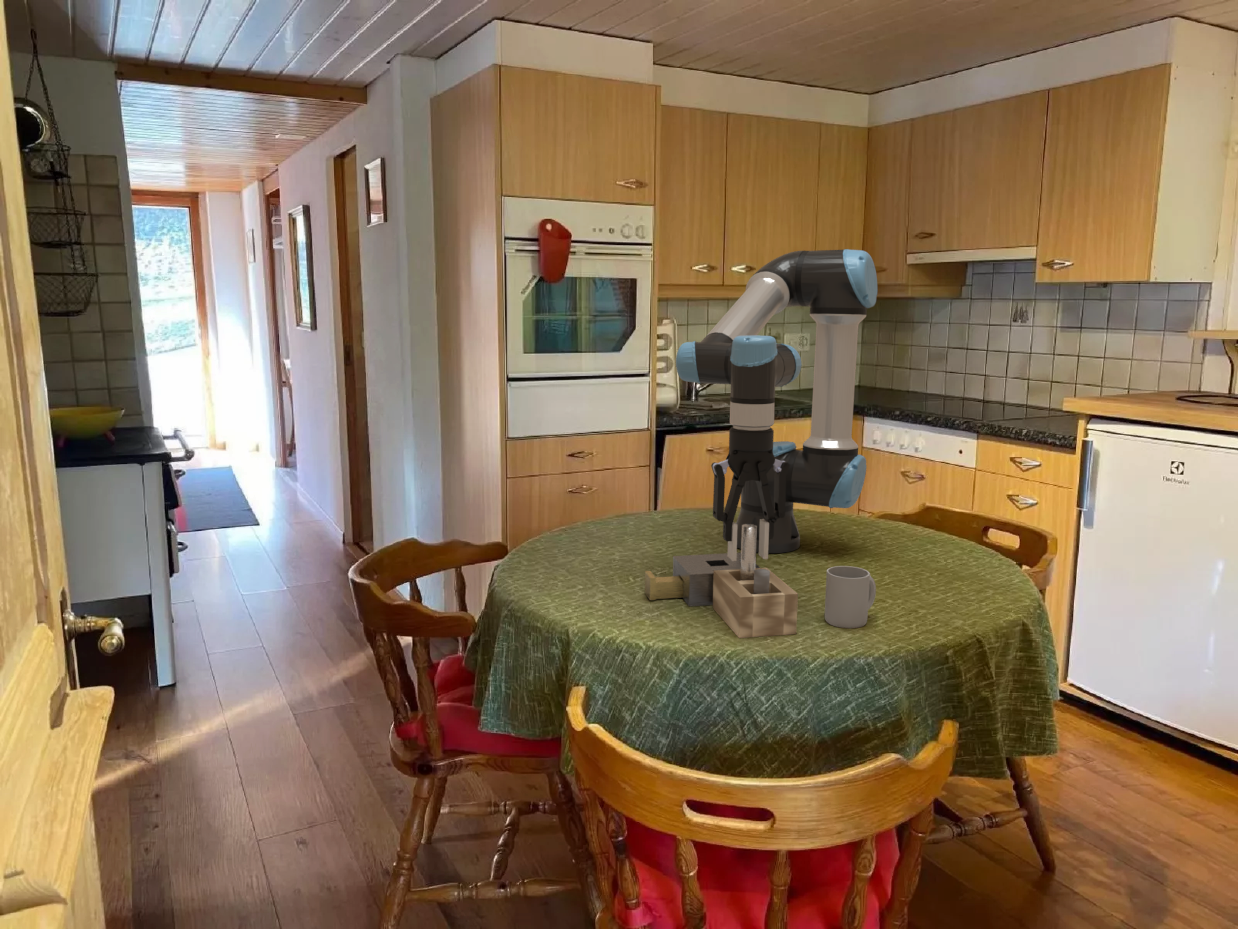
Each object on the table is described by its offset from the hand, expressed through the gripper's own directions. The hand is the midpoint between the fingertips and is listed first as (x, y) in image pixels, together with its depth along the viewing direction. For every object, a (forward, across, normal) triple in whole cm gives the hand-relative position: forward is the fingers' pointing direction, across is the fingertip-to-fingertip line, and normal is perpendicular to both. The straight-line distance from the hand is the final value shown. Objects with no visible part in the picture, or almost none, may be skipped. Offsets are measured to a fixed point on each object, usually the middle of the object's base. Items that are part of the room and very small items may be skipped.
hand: (747, 557), depth 162 cm
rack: (+10, 0, +4) cm, 11 cm away
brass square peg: (+10, +10, -11) cm, 18 cm away
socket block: (+10, +2, -11) cm, 15 cm away
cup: (+10, -17, +7) cm, 21 cm away
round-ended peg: (+10, 0, 0) cm, 10 cm away
